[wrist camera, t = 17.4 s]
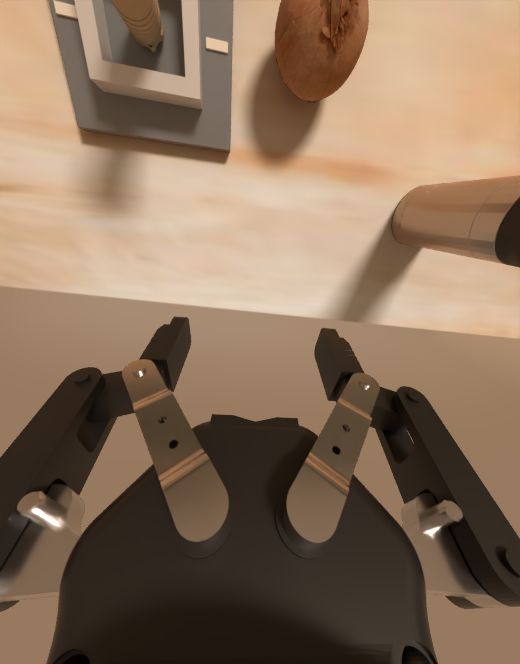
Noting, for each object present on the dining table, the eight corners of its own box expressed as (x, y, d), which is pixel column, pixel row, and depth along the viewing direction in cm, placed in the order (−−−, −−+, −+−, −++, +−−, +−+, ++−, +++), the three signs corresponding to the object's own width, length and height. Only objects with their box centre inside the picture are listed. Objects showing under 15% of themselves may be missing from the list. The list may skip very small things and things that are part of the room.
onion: (344, 98, 30) (395, 53, 21) (279, 125, 30) (303, 93, 21) (334, -15, 25) (394, -133, 16) (256, 19, 25) (275, -78, 16)
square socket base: (234, -76, 22) (237, -137, 18) (229, 152, 31) (231, 144, 27) (22, -148, 19) (-30, -240, 15) (85, 130, 27) (62, 118, 23)
